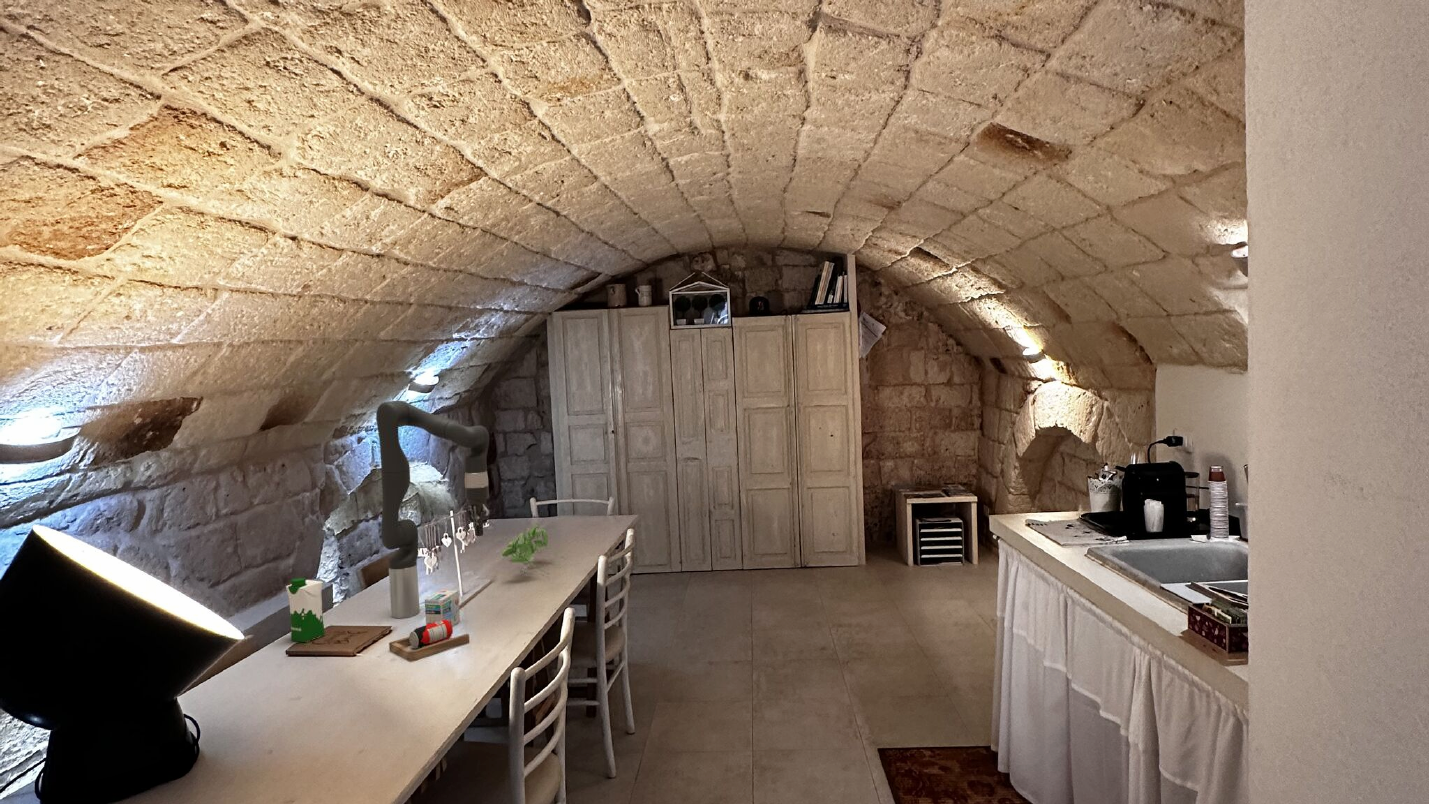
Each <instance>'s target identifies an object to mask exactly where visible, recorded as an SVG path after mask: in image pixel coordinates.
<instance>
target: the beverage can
mask: <svg viewBox="0 0 1429 804" xmlns="http://www.w3.org/2000/svg"><path fill="white" fill-rule="evenodd" d="M453 632H454V629H453V626H452V625H451V623H450V622H449V621H447V620H440V621H437V622H434V623H431V624H428V625H426V624H425V625H423V626H420V627H419V626H418V627H416V628H415V629H414V630H413V631H410V633H409V636H408V637H409V640H410V644H411V646H410V647H412V648H413V649H420V648H423V647H426V646H429V645H432V644H436V643H439V642H442V641H445V640H448V639H451V637H452V635H453V634H454V633H453Z"/></svg>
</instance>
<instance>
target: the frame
mask: <svg viewBox="0 0 1429 804" xmlns="http://www.w3.org/2000/svg"><path fill="white" fill-rule="evenodd" d="M469 642H470V634H468V633H464V634H461V635H458V636H455V637H452V638H451V637H450V638H449V639H447V640H444V641H441V642H438V643H436V644H432V645H429V646H426V647H423V648H416V649H414V650H412V649H411V648H408V647H412V646H411V644H410V640H409V636H407V637H404V638H400V639H397V640H394V641H390V642H389V643H388V645H389V646H388V649H389V652H392V653H394V654H395V655H397V656H399V657H401V658H403V659H405V660H407V661H409V662H415V661H417V660H420V659H423V658H426V657H429V656H433V655H436V654H439V653H441V652H445V651H448V650H451V649H454V648H456V647H460V646H463V645H467V644H470V643H469Z"/></svg>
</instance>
